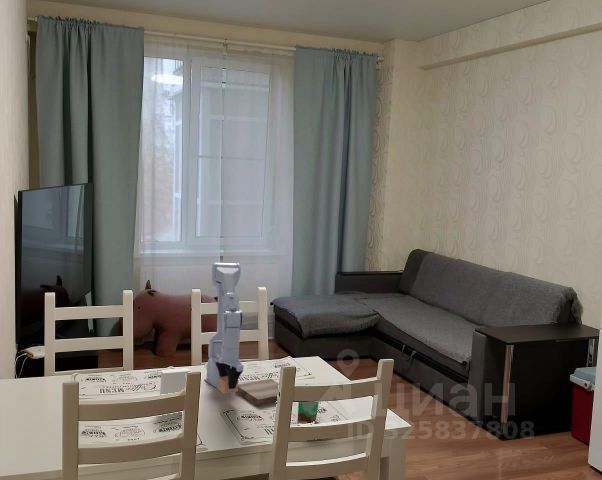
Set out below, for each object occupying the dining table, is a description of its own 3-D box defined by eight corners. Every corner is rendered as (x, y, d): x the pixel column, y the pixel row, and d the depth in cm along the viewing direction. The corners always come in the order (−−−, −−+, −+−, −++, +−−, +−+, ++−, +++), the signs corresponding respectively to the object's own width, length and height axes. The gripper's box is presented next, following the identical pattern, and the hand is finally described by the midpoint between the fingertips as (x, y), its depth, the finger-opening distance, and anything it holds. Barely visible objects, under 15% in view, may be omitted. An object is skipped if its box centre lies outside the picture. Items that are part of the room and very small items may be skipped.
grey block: (163, 413, 192) (165, 376, 191) (156, 402, 200) (158, 367, 199) (191, 409, 196) (193, 373, 195) (183, 399, 204) (185, 365, 203)
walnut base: (234, 391, 215) (235, 384, 215) (270, 385, 224) (270, 378, 224) (257, 406, 203) (258, 399, 203) (294, 399, 212) (294, 392, 212)
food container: (315, 431, 188) (318, 399, 187) (296, 427, 189) (298, 396, 188) (322, 415, 200) (324, 386, 199) (303, 412, 201) (306, 383, 200)
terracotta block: (217, 388, 205) (218, 377, 204) (230, 386, 208) (231, 375, 207) (224, 393, 201) (225, 382, 200) (237, 391, 204) (238, 379, 203)
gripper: (209, 341, 206) (207, 380, 207) (231, 354, 194) (228, 395, 196) (227, 339, 210) (225, 377, 211) (249, 351, 198) (247, 391, 200)
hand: (227, 385), depth 204 cm, fingers closed on terracotta block, 5 cm apart
